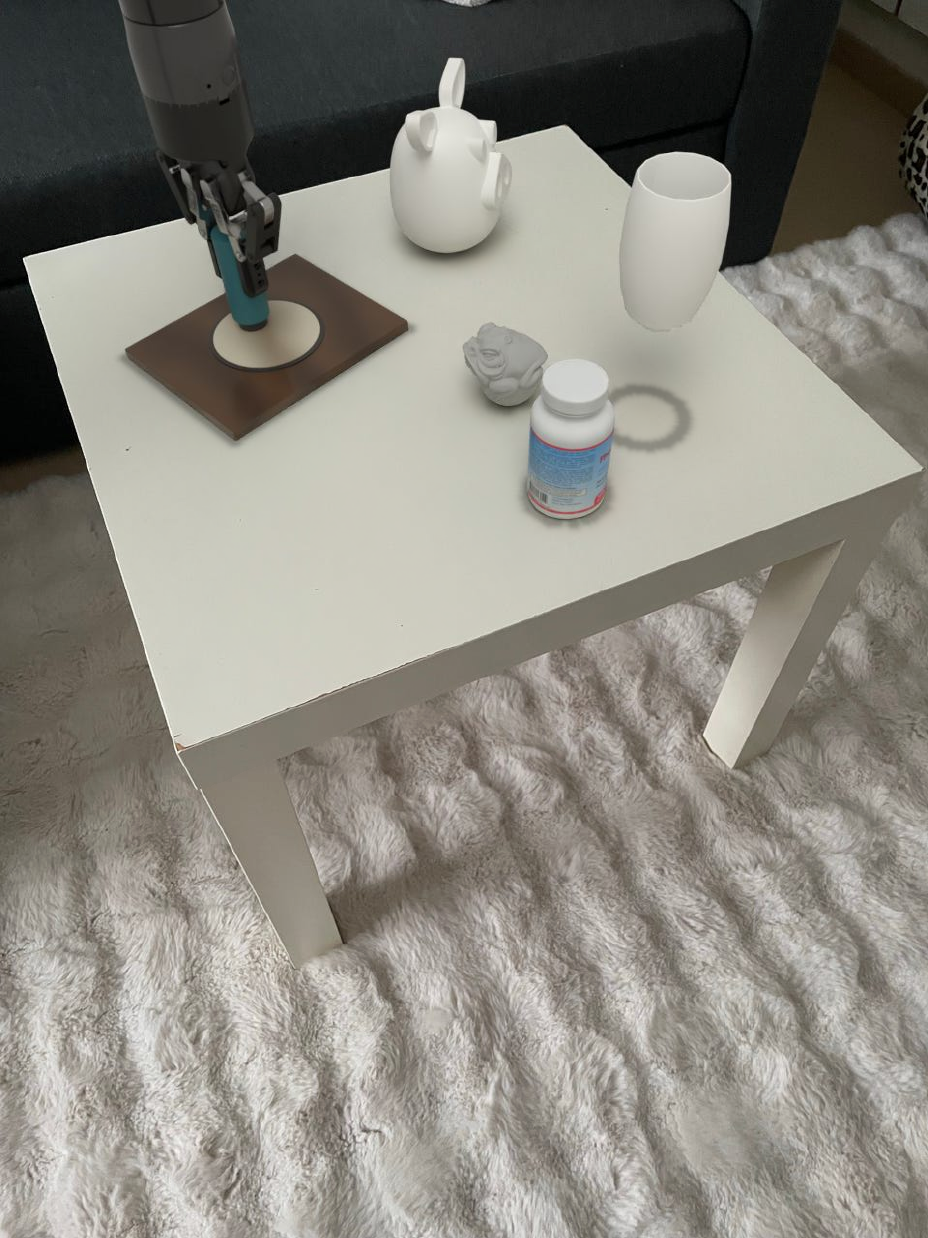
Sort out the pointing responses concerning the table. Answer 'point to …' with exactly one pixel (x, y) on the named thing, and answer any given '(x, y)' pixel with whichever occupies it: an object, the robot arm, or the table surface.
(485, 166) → the piggy bank
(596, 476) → the pill bottle
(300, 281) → the wooden board with hole
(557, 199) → the table surface
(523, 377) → the grey sculpted head figurine
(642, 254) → the cup
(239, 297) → the teal cylinder
